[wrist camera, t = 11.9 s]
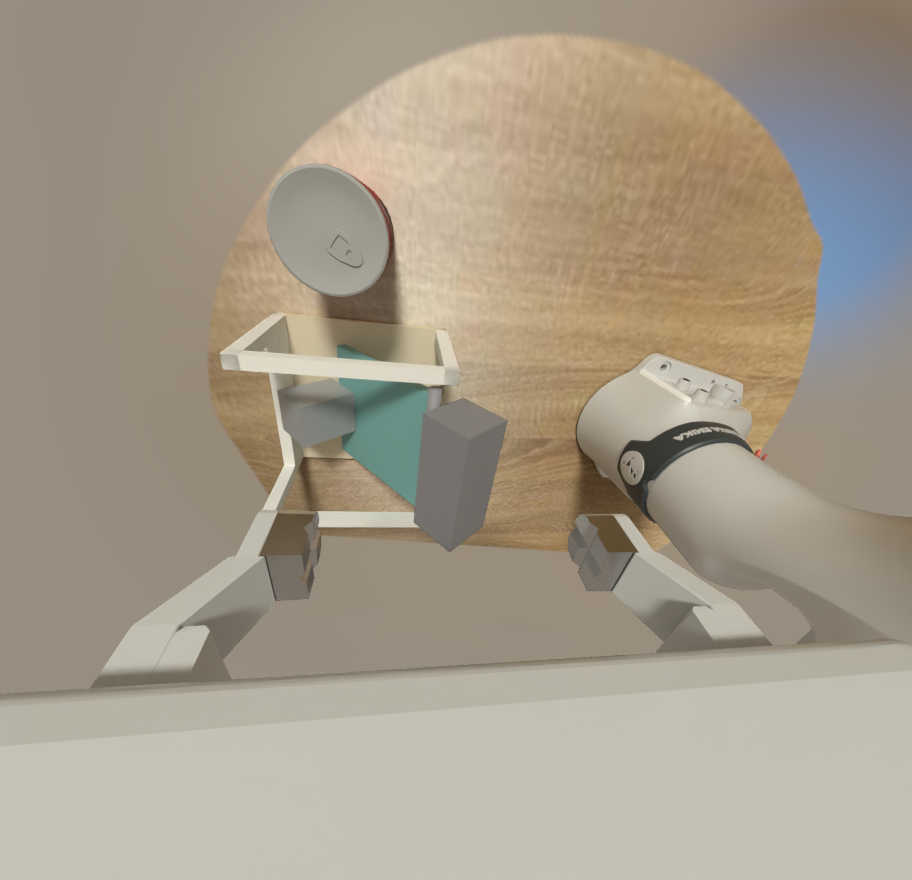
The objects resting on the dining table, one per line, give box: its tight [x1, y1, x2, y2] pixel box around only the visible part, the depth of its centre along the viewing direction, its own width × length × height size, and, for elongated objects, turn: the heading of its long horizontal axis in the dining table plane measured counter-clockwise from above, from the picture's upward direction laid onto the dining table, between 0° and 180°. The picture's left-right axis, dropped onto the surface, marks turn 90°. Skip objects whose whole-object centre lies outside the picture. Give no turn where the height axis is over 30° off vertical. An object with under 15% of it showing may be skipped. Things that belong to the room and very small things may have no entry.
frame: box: [219, 312, 460, 527], centre depth 36 cm, size 18×18×12 cm
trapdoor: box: [337, 344, 508, 552], centre depth 35 cm, size 20×14×5 cm
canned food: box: [266, 164, 394, 297], centre depth 28 cm, size 8×8×11 cm
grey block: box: [277, 378, 356, 448], centre depth 37 cm, size 5×5×6 cm
